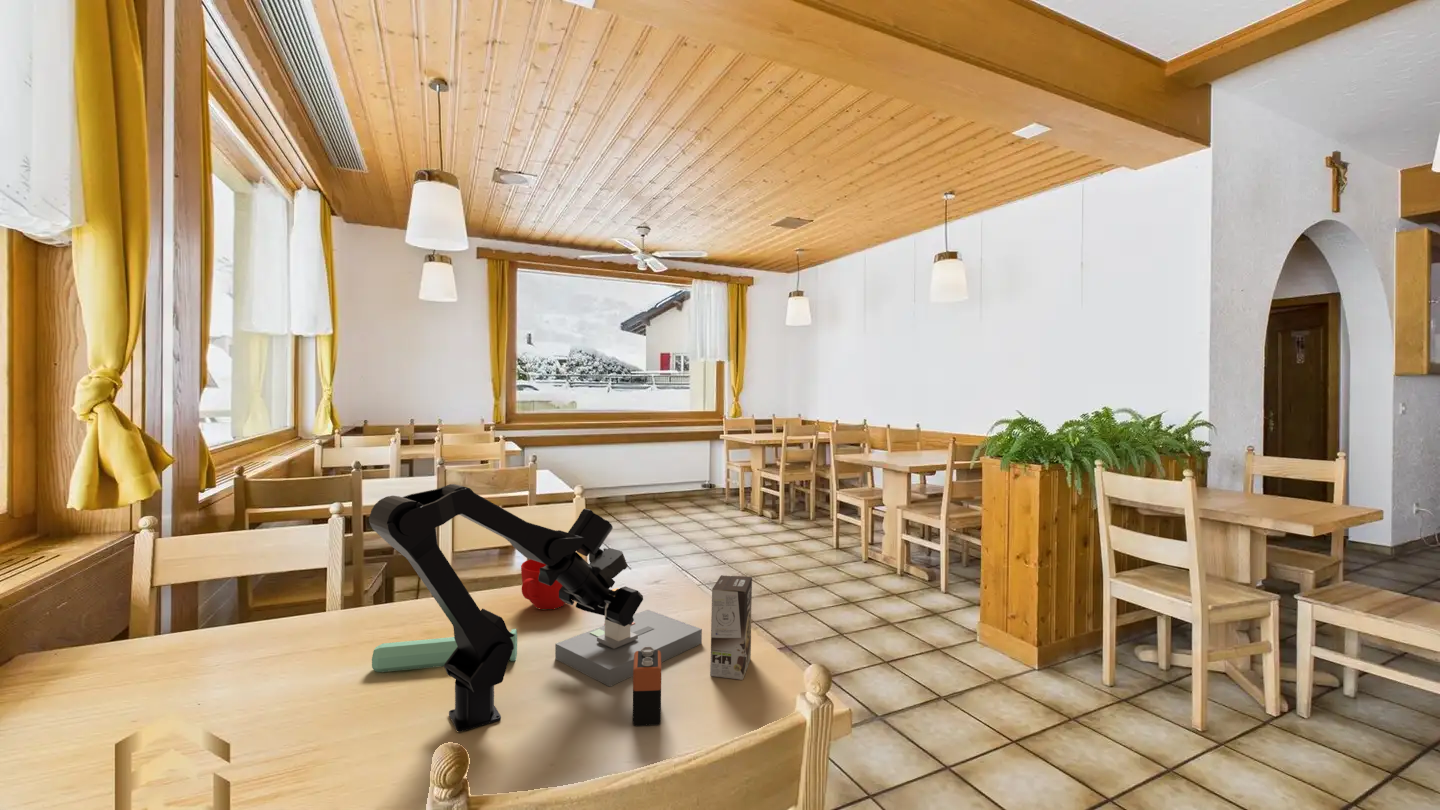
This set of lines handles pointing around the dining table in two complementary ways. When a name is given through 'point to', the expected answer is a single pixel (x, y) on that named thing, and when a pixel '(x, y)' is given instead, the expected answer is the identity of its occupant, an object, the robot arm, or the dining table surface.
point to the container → (419, 654)
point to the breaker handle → (616, 633)
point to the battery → (647, 687)
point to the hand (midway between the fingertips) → (623, 618)
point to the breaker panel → (627, 647)
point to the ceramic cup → (539, 587)
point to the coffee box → (731, 627)
